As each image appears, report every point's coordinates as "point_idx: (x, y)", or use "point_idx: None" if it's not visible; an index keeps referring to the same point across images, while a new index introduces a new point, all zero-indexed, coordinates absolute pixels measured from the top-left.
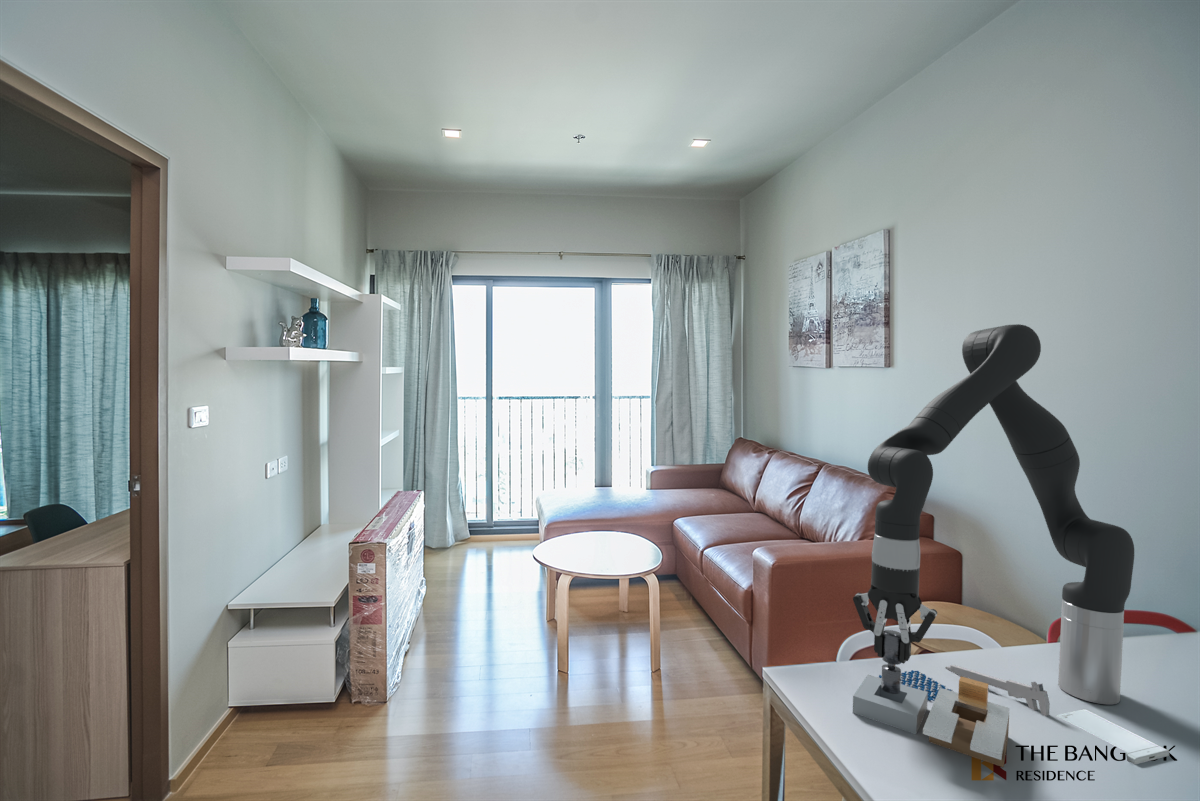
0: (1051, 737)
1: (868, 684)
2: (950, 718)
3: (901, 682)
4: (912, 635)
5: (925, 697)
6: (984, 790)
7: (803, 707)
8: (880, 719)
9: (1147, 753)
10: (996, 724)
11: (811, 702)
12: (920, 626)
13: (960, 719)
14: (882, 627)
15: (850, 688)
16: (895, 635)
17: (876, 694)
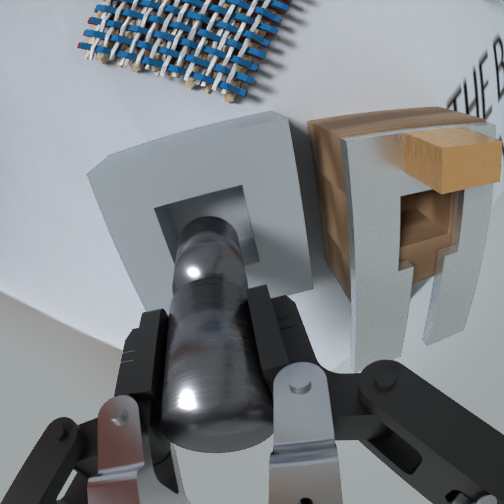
0: (477, 25)
1: (132, 239)
2: (398, 300)
3: (147, 19)
4: (351, 436)
5: (295, 162)
6: (412, 294)
7: (83, 326)
8: None
9: None
10: (474, 239)
11: (73, 300)
12: (417, 487)
13: (408, 251)
14: (182, 484)
15: (62, 161)
16: (244, 434)
17: (171, 245)
